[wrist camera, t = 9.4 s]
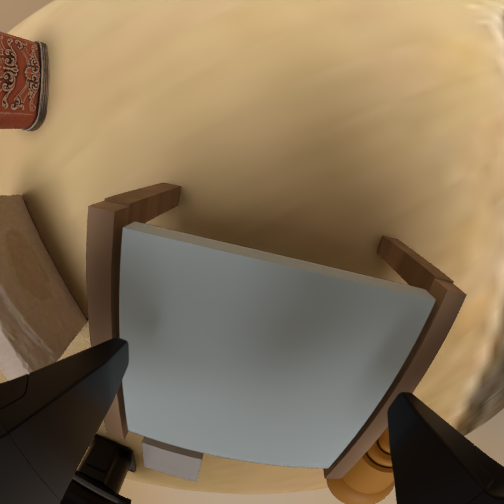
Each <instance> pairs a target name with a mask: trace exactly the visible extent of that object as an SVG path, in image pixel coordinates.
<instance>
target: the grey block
mask: <svg viewBox="0 0 504 504" xmlns="http://www.w3.org/2000/svg"><path fill="white" fill-rule="evenodd" d="M86 322H87V320H86V318H85V316H84V315H83V314H82V312H81V310H80V308H79V306H78V305H77V303H76V301H75V300H74V298H73V296H72V295H71V293H70V291H69V289H68V288H67V286H66V285H65V283H64V281H63V279H62V277H61V276H60V274H59V272H58V270H57V269H56V267H55V265H54V263H53V262H52V259H51V257H50V256H49V254H48V252H47V250H46V248H45V246H44V244H43V242H42V241H41V239H40V237H39V234H38V231H37V229H36V228H35V225H34V223H33V221H32V219H31V216H30V215H29V213H28V210H27V208H26V206H25V202H24V200H23V198H22V195H19V194H18V195H11V196H6V195H5V196H3V195H2V196H0V369H1V371H2V372H3V374H4V375H5V377H6V378H7V379H8V380H12V379H15V378H18V377H20V376H23V375H25V374H29V373H30V372H33V371H35V370H38V369H40V368H43V367H45V366H48V365H50V364H52V363H55V362H56V361H57V360H58V359H59V358H60V357H61V356H62V354H63V353H64V351H65V350H66V349H67V347H68V346H69V344H70V343H71V342H72V340H73V339H74V338H75V337H76V336H77V334H78V333H79V332H80V331H81V329H82V327H83V326H84V325H85V324H86Z"/></svg>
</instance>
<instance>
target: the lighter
mask: <svg viewBox="0 0 504 504" xmlns="http://www.w3.org/2000/svg"><path fill="white" fill-rule="evenodd" d="M48 90H49V58H48V50H47V46H46V44H44V43H42V42H39V41H35V42H32V41H29V40H26V39H22V38H19V37H16V36H13V35H9V34H6V33H2V32H0V129H22V130H24V131H34V130H37V129H38V128H39V127H40V126H41V125H42V124H43V122H44V120H45V117H46V112H47V102H48Z"/></svg>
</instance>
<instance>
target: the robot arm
mask: <svg viewBox="0 0 504 504" xmlns="http://www.w3.org/2000/svg"><path fill="white" fill-rule="evenodd" d="M128 364H129V344H128V341H127V340H124V339H121V338H119V337H114V338H112V339H109V340H107V341H105V342H102V343H100V344H98V345H95V346H93V347H91V348H88V349H86V350H84V351H81V352H79V353H76V354H74V355H72V356H69V357H67V358H65V359H62V360H60V361H57V362H55V363H52V364H50V365H48V366H45V367H43V368H40V369H38V370H35V371H33V372H30V373H29V374H25V375H23V376H20V377H18V378H15V379H12V380H9V381H7V382H4V383H0V504H131V500H130V499H128V498H125V497H123V496H121V495H119V491H120V489H121V486H122V484H123V482H124V479H125V477H126V474H127V472H128V471H131V472H135V471H136V466H135V461H134V456H133V451H132V450H130V449H128V448H125V447H123V446H120V445H118V444H115V443H113V442H110V441H108V440H106V439H103V438H101V437H99V436H96V435H95V434H96V432H97V431H98V429H99V427H100V425H101V423H102V421H103V420H104V418H105V416H106V414H107V413H108V411H109V409H110V407H111V405H112V403H113V401H114V398H115V396H116V394H117V391H118V389H119V386H120V384H121V381H122V379H123V377H124V374H125V372H126V370H127V367H128ZM387 418H388V432H389V447H390V455H391V462H392V468H393V475H394V483H395V491H396V500H397V504H504V467H503V466H502V465H500V464H499V463H497V462H496V461H495V460H493V459H492V458H490V457H489V456H488V455H486V454H485V453H484V452H483V451H481V450H480V449H479V448H478V447H476V446H474V444H473V443H471V442H470V441H469V440H468V439H466V438H465V437H464V436H463V435H462V434H460V433H459V432H458V431H457V430H456V429H454V428H453V427H452V426H451V425H449V424H448V423H447V422H446V421H445V420H443V419H442V418H441V417H440V416H439V415H437V414H436V413H435V412H434V411H433V410H431V409H430V408H429V407H428V406H426V405H425V404H424V403H423V402H422V401H420V400H419V399H418V398H417V397H416V396H414V395H413V394H412V393H410V392H400V393H399V394H398V395H397V396H396V398H395V399H394V401H393V402H392V404H391V405H390V406H389V408H388V411H387ZM89 446H90V447H89ZM88 447H89V449H88ZM87 449H88V450H87ZM86 451H87V452H86ZM85 453H86V454H85ZM84 455H85V456H84ZM83 457H84V458H83ZM82 458H83V460H82ZM81 460H82V461H81ZM80 462H81V463H80ZM79 464H80V465H79ZM78 466H79V467H78ZM77 468H78V469H77Z"/></svg>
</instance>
